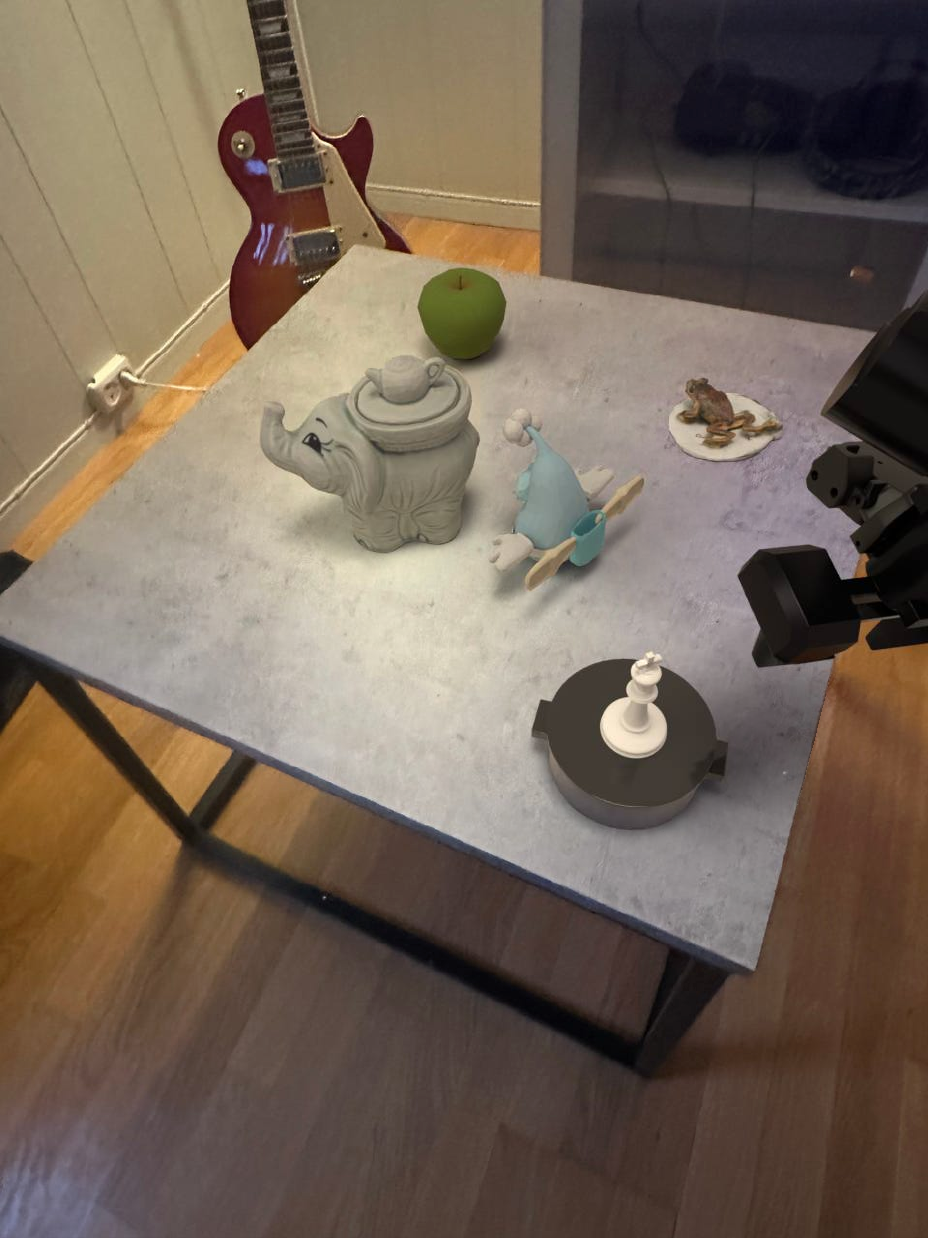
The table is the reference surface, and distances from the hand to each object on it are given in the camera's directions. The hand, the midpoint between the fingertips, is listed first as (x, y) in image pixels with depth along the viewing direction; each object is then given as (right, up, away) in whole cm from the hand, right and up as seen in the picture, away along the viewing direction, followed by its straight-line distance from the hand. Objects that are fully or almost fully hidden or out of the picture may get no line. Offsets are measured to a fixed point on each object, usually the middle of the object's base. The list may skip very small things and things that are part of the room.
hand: (814, 651), depth 50 cm
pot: (-11, -9, +10) cm, 17 cm away
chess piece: (-11, -6, +6) cm, 14 cm away
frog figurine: (+5, +23, +33) cm, 41 cm away
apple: (-23, +36, +45) cm, 62 cm away
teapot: (-31, +12, +28) cm, 44 cm away
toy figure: (-15, +9, +24) cm, 30 cm away
